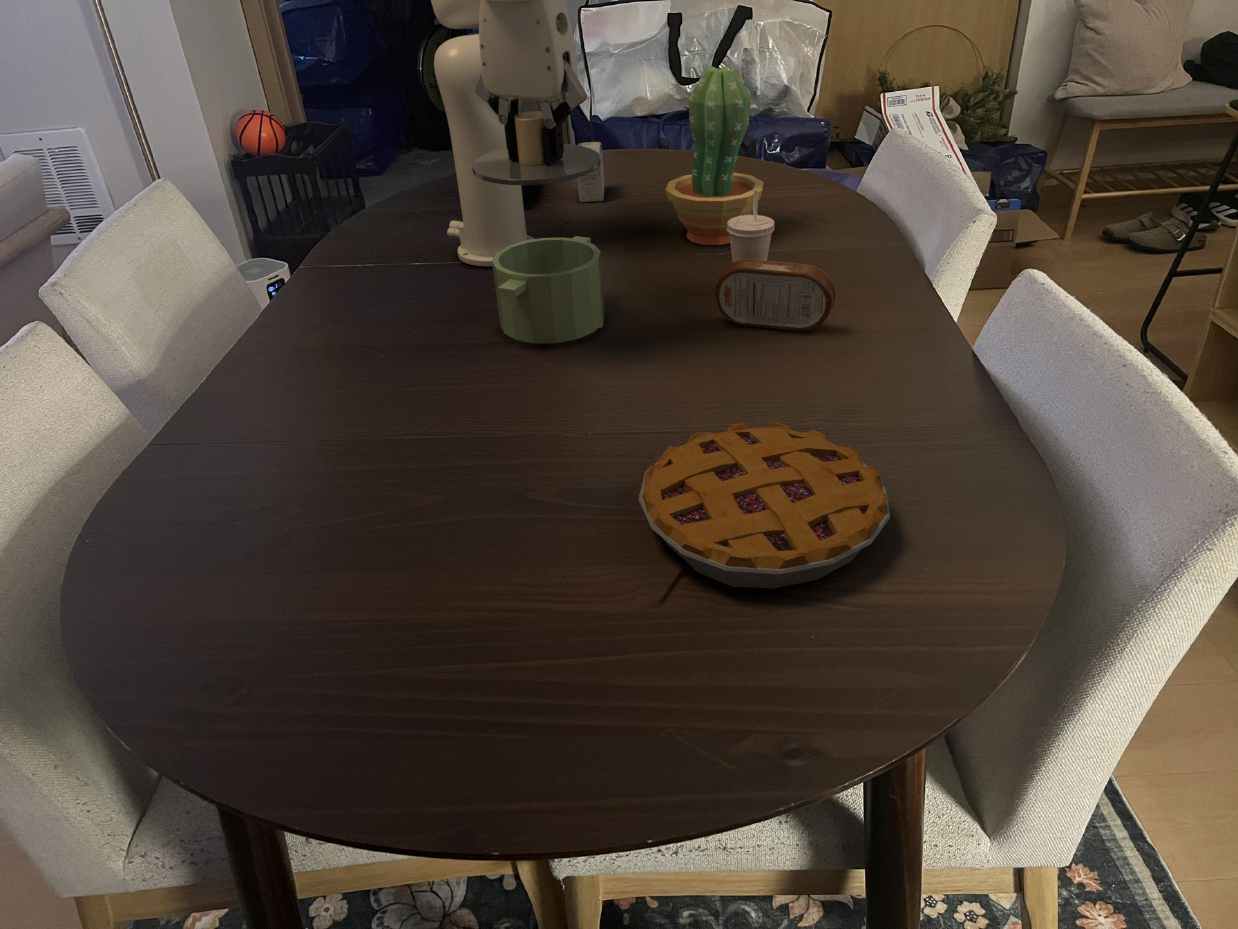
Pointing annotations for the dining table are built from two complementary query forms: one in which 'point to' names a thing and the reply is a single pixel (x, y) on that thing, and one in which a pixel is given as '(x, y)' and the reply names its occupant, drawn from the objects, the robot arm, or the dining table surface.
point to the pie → (764, 504)
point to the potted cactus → (715, 159)
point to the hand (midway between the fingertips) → (536, 157)
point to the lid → (534, 158)
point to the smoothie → (750, 235)
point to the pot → (549, 289)
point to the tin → (775, 294)
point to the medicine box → (592, 179)
